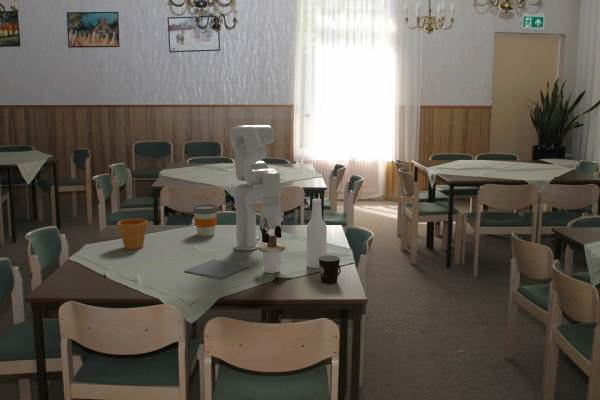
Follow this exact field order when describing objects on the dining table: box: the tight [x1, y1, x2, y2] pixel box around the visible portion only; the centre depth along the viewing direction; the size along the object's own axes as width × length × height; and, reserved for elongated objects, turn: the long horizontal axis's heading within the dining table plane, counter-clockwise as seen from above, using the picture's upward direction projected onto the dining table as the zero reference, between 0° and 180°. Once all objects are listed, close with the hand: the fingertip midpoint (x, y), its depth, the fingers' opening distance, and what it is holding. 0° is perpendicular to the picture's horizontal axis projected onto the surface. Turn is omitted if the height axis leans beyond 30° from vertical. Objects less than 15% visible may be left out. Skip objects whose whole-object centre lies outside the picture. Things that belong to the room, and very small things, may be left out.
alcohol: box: [306, 198, 328, 270], centre depth 272 cm, size 9×9×30 cm
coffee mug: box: [319, 254, 342, 285], centre depth 251 cm, size 12×9×10 cm
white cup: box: [262, 251, 282, 274], centre depth 267 cm, size 8×8×10 cm
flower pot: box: [116, 218, 148, 250], centre depth 307 cm, size 14×14×13 cm
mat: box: [183, 259, 250, 280], centre depth 271 cm, size 20×20×1 cm
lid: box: [257, 234, 287, 253], centre depth 266 cm, size 12×12×6 cm
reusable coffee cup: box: [192, 204, 218, 237], centre depth 332 cm, size 13×13×15 cm
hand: (271, 239), depth 266 cm, fingers open, 9 cm apart
